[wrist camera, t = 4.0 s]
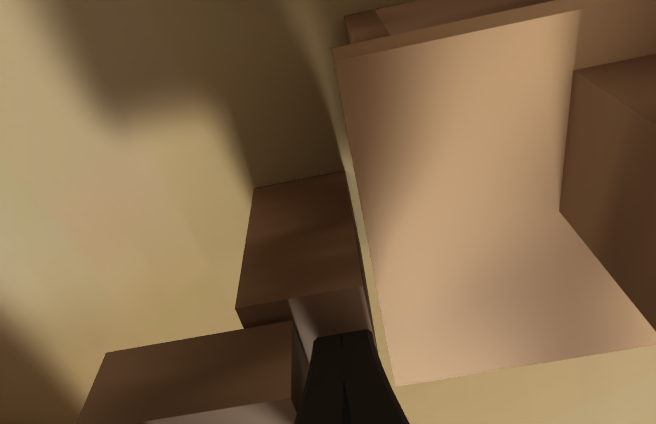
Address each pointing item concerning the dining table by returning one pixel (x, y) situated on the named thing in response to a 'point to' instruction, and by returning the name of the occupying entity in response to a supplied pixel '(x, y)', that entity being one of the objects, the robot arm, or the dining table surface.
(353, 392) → the robot arm
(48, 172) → the dining table surface
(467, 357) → the lid
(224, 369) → the block with round knob
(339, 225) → the brown wooden open box
